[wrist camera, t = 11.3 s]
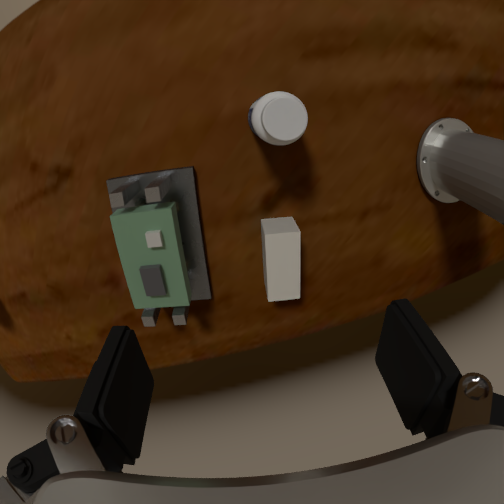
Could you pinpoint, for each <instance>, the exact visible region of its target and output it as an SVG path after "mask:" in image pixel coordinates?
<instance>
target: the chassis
mask: <svg viewBox="0 0 504 504" xmlns="http://www.w3.org/2000/svg"><path fill="white" fill-rule="evenodd" d="M107 187H108V192H109V197H110V202H111V207H112V211H113V213H114V212H115V211H116V210H117V209H122V208H129V207H136V206H143V205H151V204H159V203H167V202H175V203H176V210H177V216H178V222H179V228H180V234H181V240H182V246H183V251H184V257H185V262H186V267H187V273H188V278H189V283H190V288H191V293H192V295H191V300H202V299H211V297H212V294H211V288H210V282H209V275H208V269H207V262H206V256H205V249H204V242H203V235H202V228H201V221H200V214H199V206H198V199H197V191H196V183H195V174H194V166H191V167H182V168H175V169H167V170H160V171H153V172H147V173H140V174H134V175H128V176H122V177H117V178H111V179H108V180H107ZM191 300H190V301H191ZM189 307H190V306H175V307H174V309H173V313H172V318H173V321H174V325H186V323H187V318H188V312H189ZM160 309H161V307H158V308H144V311H143V314H142V317H141V318H142V321H143V324H144V326H156V323H157V319H158V316H159V313H160Z"/></svg>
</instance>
